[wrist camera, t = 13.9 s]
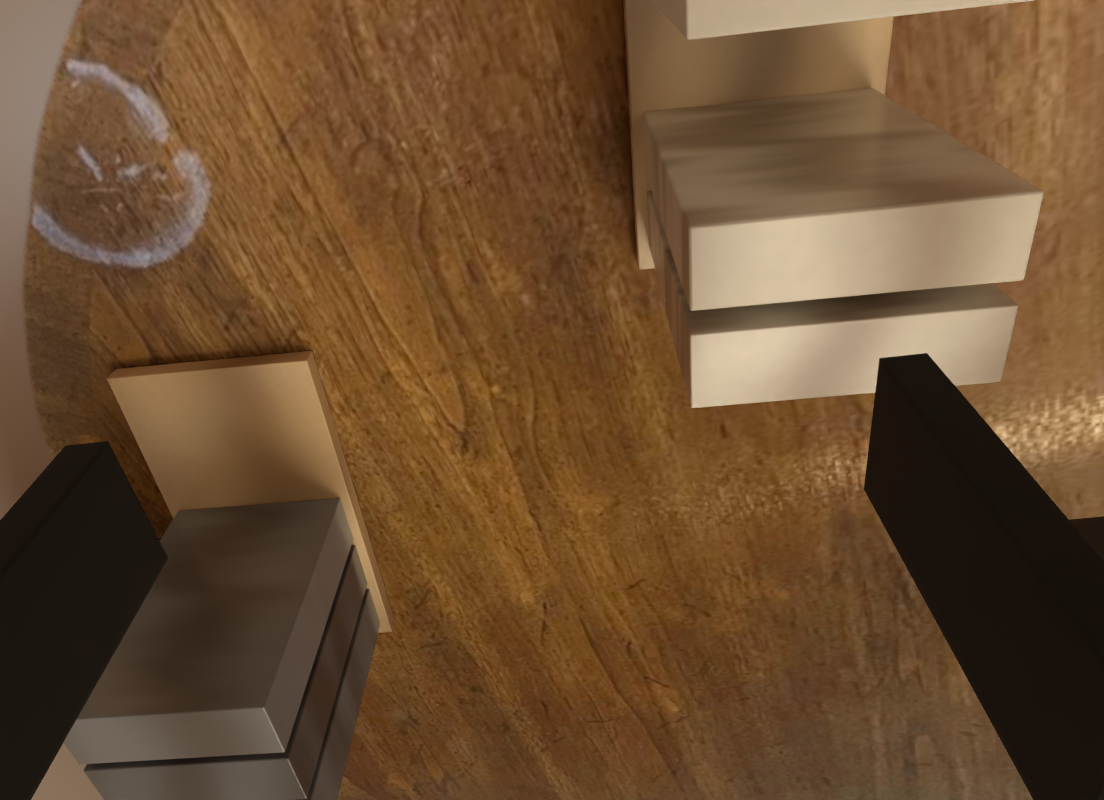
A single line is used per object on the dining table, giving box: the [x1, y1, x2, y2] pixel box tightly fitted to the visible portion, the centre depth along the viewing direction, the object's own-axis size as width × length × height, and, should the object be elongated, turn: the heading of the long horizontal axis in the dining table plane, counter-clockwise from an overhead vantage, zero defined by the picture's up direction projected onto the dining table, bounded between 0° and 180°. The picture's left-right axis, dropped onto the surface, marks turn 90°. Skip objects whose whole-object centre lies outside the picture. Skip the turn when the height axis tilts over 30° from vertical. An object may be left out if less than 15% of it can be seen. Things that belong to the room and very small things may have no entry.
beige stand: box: [623, 0, 1043, 408], centre depth 25 cm, size 10×19×14 cm, turn 6°
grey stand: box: [63, 351, 394, 800], centre depth 38 cm, size 10×19×14 cm, turn 6°
